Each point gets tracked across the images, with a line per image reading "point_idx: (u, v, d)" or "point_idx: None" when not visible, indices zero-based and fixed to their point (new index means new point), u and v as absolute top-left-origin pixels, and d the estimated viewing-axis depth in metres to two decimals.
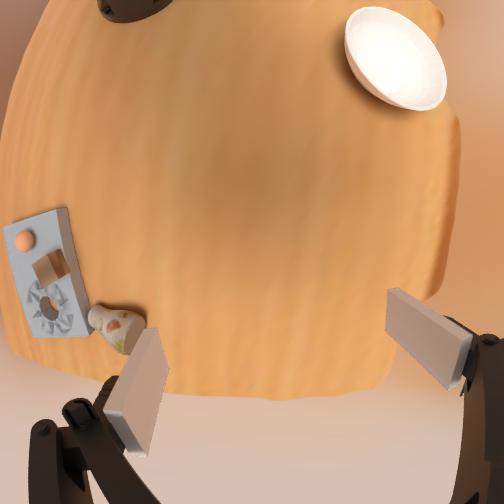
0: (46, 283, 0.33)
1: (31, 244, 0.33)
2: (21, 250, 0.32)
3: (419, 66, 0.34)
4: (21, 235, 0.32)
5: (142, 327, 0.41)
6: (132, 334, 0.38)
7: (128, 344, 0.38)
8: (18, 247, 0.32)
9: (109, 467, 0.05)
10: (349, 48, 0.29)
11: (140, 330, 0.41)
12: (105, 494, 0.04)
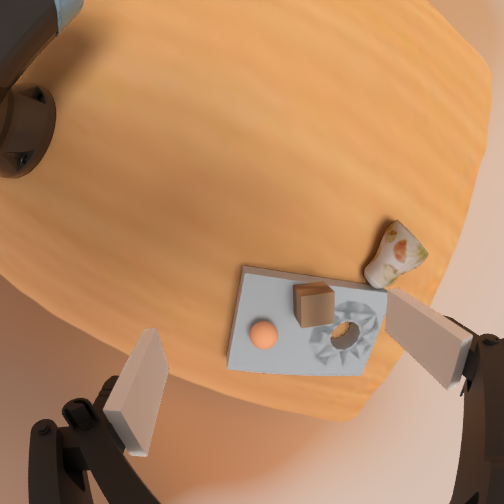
0: (331, 313, 0.31)
1: (272, 324, 0.33)
2: (275, 341, 0.32)
3: None
4: (257, 333, 0.32)
5: None
6: None
7: None
8: (270, 343, 0.32)
9: (109, 467, 0.05)
10: None
11: None
12: (105, 494, 0.04)
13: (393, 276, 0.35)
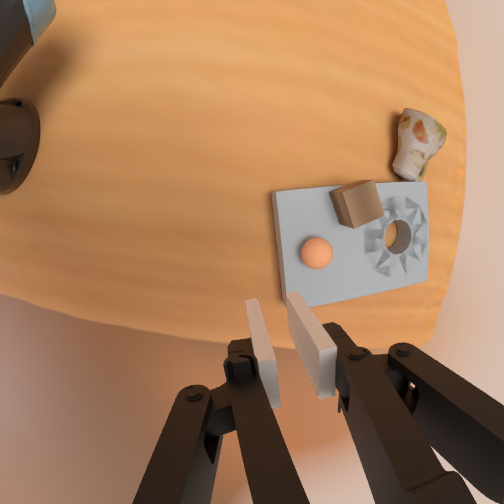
0: (378, 205, 0.27)
1: (322, 238, 0.30)
2: (331, 254, 0.29)
3: None
4: (310, 250, 0.29)
5: None
6: None
7: None
8: (327, 257, 0.29)
9: (256, 422, 0.07)
10: None
11: None
12: (241, 446, 0.06)
13: (422, 161, 0.30)
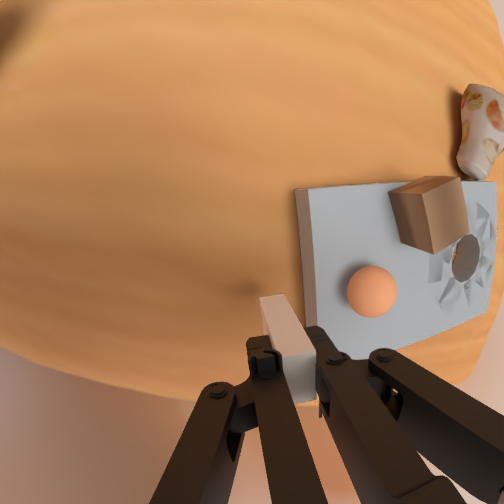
0: (464, 216, 0.15)
1: None
2: (395, 294, 0.16)
3: None
4: (366, 290, 0.16)
5: None
6: None
7: None
8: (391, 301, 0.16)
9: (278, 417, 0.07)
10: None
11: None
12: (262, 441, 0.06)
13: (495, 156, 0.18)
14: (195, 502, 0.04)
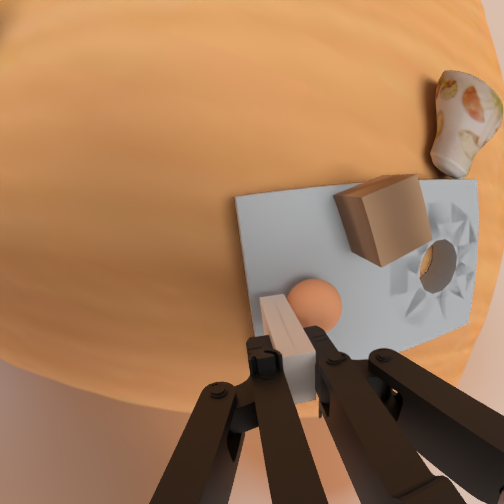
0: (424, 221, 0.14)
1: (323, 280, 0.16)
2: (339, 310, 0.16)
3: None
4: (302, 307, 0.15)
5: None
6: None
7: None
8: (333, 318, 0.15)
9: (278, 417, 0.07)
10: None
11: None
12: (263, 441, 0.06)
13: (475, 150, 0.17)
14: (195, 502, 0.04)
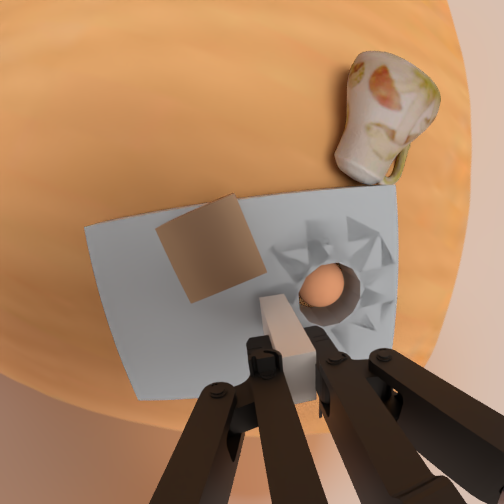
0: (250, 250, 0.13)
1: None
2: None
3: None
4: None
5: None
6: None
7: None
8: (343, 281, 0.19)
9: (278, 417, 0.07)
10: None
11: None
12: (262, 441, 0.06)
13: (392, 148, 0.16)
14: (195, 502, 0.04)
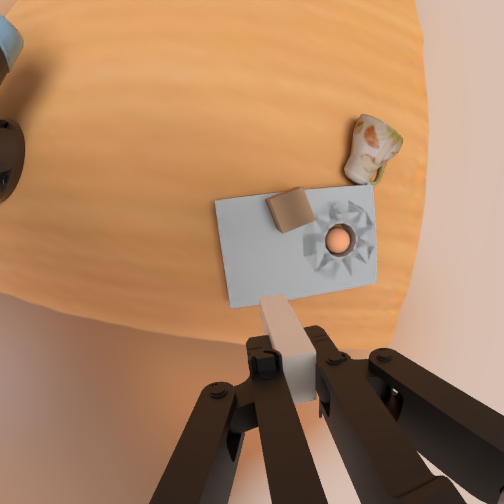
0: (308, 210, 0.31)
1: None
2: None
3: None
4: (343, 231, 0.36)
5: None
6: None
7: None
8: None
9: (278, 417, 0.07)
10: None
11: None
12: (262, 441, 0.06)
13: (373, 166, 0.33)
14: (195, 502, 0.04)
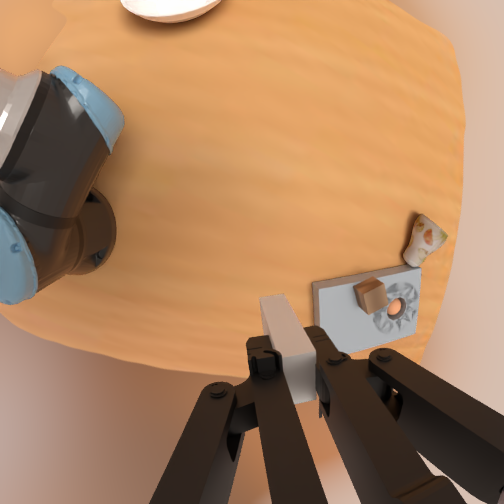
0: (385, 298, 0.41)
1: None
2: None
3: None
4: (397, 300, 0.47)
5: None
6: None
7: None
8: None
9: (278, 417, 0.07)
10: (180, 13, 0.28)
11: None
12: (262, 441, 0.06)
13: (425, 256, 0.44)
14: (195, 502, 0.04)
